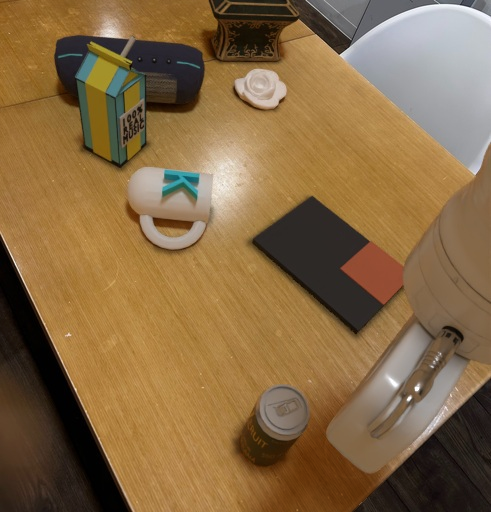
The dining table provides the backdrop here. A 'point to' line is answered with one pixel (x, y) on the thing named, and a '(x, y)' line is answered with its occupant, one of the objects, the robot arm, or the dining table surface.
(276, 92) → the rose
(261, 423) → the beer can
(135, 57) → the portable speaker
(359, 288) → the mat
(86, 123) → the carton
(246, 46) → the decorative box
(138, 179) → the mug
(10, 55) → the dining table surface
